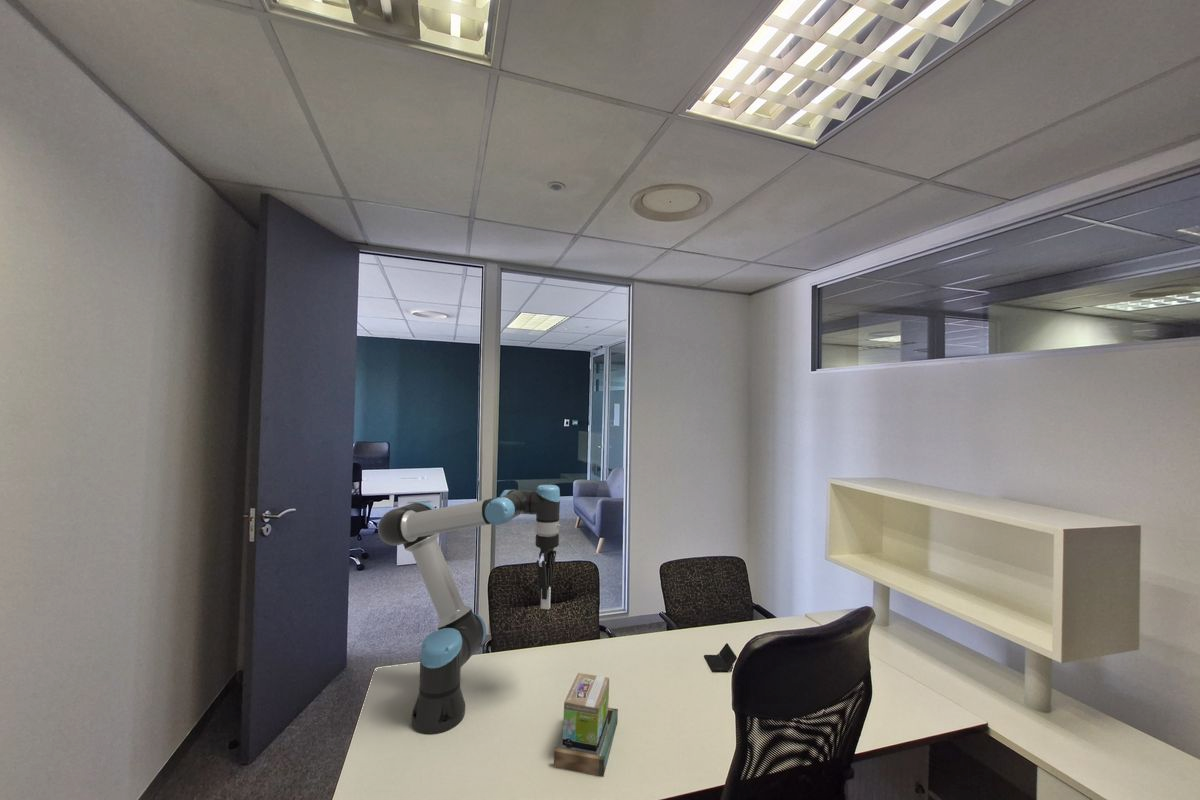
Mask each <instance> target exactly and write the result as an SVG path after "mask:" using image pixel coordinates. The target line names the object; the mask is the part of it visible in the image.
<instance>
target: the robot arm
mask: <svg viewBox="0 0 1200 800" xmlns="http://www.w3.org/2000/svg"><path fill="white" fill-rule="evenodd" d="M560 492H561V491H560V487H559V486H558V485H556V484H540V485H538V486H537V487H536V490H524V489H523V490H522V489H521V490H519V489H504V490H503V491H502V492H501V494H500V495H499V497H493V498H488V499H482V500H477V501H473V502H467V503H462V504H456V505H455V504H454V505H450V506H445V507H439V508H435V506H433V505H432V504H430V503H427V502H423V501H421V502H412V503H410V504H407V505H404V506H401V507H398V508H397V507H396V508H393V509H391V510H389V511H387V512H385V514H383V516H382V517H381V518H380V520H379V523H378V526H377V533H378V536H379V538H380V540H381V541H382V542H384V543H385V544H387V545H390V546H400V545H402V546H403V547H404V550H405V551H408V552H411V554H412V557H413V558H414V561H415V563H416V565H417V568H418V570H419V573H420V575H421V578H422V581H423V582H424V584H425V588H426V590H427V592H428V595H429V597H430V599H431V602H432V605H433V607H434V609H435V611H436V614H437V618H438V619H439V620H438V624H437V630H438V631H436V630H435V631H433V632H431V633H429V634H428V635H426V637H425V638H424V639H423V641H422V643H421V648H420V653H419V660H420V661H419V683H418V684H419V688H418V689H419V690H418V696H417V698H416V700H415V704H414V707H413V710H412V713H411V726H412V728H413V729H414V730H415V731H417V732H418V733H422V734H428V735H432V734H440V733H443V732H446V731H449V730H451V729H452V728H454V727H456V726H457V725H458V724H459V723H461V722H462V721H463V719H464V718H465V715H466V714H465V713H466V702H465V700H464V696H463V692H462V689H461V669H462V667H463V666H464V665H465V664H466V663H467V662H468V660H470V658H471V657H472V656H473V655H474V654H476V653H477V651H479V650H480V648H481V646H482V645H483V643H484V642H485V638H486V635H487V626H486V623H485V621H484V619H483V618H482V616H481V615H480V614H479V615H478V614H477V613H476V612H473V610H472V608H471V607H470V606H468V605H466V604H465V603H464V600H463V598H462V596H461V594H460V592H459V589H458V587H457V584H456V582H455V580H454V579H455V578H454V577H453V574H452V573H451V570H450V568H449V565H448V563H447V561H446V558H445V556H444V553H443V551H442V549H441V547H440V544H439V542H438V538H439V536H440V534H442V533H448V532H449V533H450V532H455V531H461V530H465V529H470V528H476V527H482V526H489V525H495V526H500V525H504V524H506V523H509V522H510V521H511V520H512V519H514V518H516V517H518V516H520V515H533V516H534V515H535V542H534V543H535V546H536V547H537V548H539V549H540V551H539V552H538V553H539V554H538V559H539V560H538V559H537V560H536V563H535V564H536V567H537V580H538V581H537V582H538V587H537V588H538V589H540V609H543V610H550V608H551V589H552V587H554V584H555V583H554V575H555V564H556V563H555V562H556V557H557V550H555V548H557V547H559V545H560V544H559V543H560V535H559V532H560V527H561V523H560V511H561V510H560V507H561V493H560Z"/></svg>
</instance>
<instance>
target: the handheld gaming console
mask: <svg viewBox="0 0 1200 800" xmlns="http://www.w3.org/2000/svg"><path fill="white" fill-rule="evenodd" d="M703 657H704V659H705V662H706V664H707V665H708V667H709V668H710V671H711V673H714V674H715V673H717V674H718V673H729V670H731V668H732V666H733V665H734V663H736V661H737V660H738V657H737V655H736V654H735V653H734V651H733V649H732V648H731V646H730V645H729V643H727V642H726V643H725V644H724V646H723V647H722V648H721V650H720V651H719V652H718V653H717V654H704V655H703Z"/></svg>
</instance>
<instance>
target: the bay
mask: <svg viewBox="0 0 1200 800" xmlns="http://www.w3.org/2000/svg"><path fill="white" fill-rule="evenodd" d="M618 712H619V709H618V708H614V707H608V728H607V731H606V735H605V738H604V741H603V744H602V748H601V751H600V754H599V756H598V755H593V754H587V753H582V752H576V751H571V750H565V749H562V748H561V747H560V748H559V747H555V748H554V749H553V767H554V768H556V769H561V770H568V771H572V772H578V773H582V774H588V775H594V776H598V777H605V773H606V768H607V765H608V760H609V756H610V753H611V749H612V745H613V743H614V738H615V734H616V730H617V726H618V719H619V718H618Z"/></svg>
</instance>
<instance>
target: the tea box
mask: <svg viewBox="0 0 1200 800" xmlns="http://www.w3.org/2000/svg"><path fill="white" fill-rule="evenodd" d="M609 693H610V677H606V676H602V675H593V674H587V673H582V672H581V673H580V672H578V673H577V674H576V676H575V679H574V681H573V683H572V685H571V687H570V690H569V691H568V693H567V696H565V700H564V701H563V702H564V703H563V720H562V721H563V722H562V723H563V724H562V740H561V741H562V744H561V749H565V750H571V751H576V752H582V753H587V754H593V755H598V756H600V755H601V751H602V748H603V744H604V741H605V737H606V734H607V730H608V727H609V724H608V708H609V699H610V698H609V697H610V696H609V695H610V694H609Z"/></svg>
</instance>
